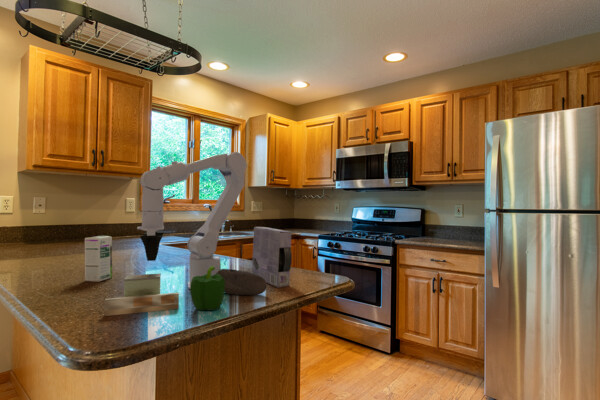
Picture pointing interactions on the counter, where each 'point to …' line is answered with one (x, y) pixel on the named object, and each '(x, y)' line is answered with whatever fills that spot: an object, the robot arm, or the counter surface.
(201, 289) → the bell pepper
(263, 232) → the cake pan box
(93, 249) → the syrup box
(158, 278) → the tea tin
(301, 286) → the counter surface
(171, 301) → the shelf board
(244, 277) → the perforated stone tool
